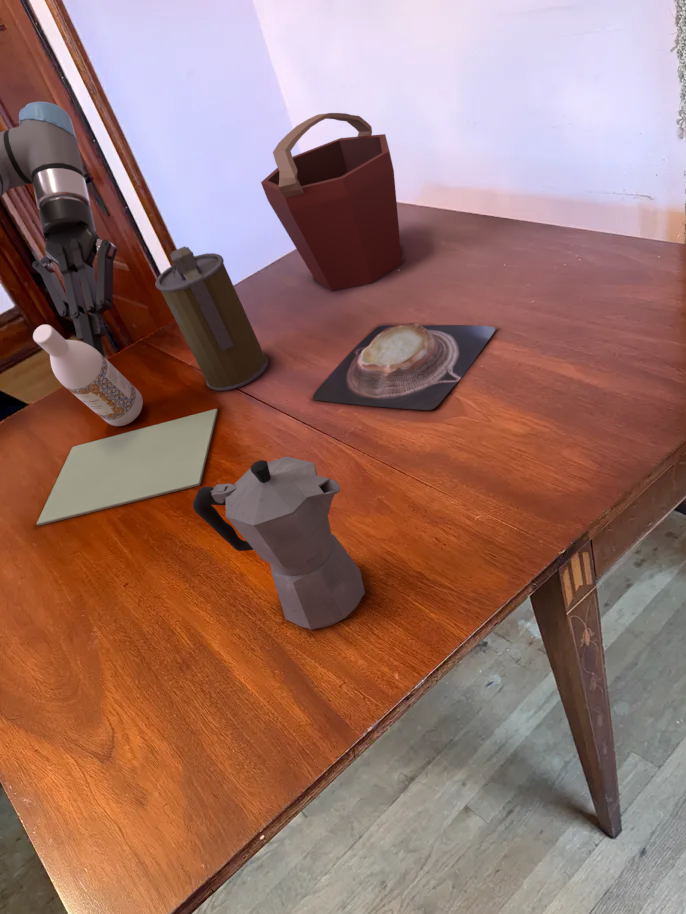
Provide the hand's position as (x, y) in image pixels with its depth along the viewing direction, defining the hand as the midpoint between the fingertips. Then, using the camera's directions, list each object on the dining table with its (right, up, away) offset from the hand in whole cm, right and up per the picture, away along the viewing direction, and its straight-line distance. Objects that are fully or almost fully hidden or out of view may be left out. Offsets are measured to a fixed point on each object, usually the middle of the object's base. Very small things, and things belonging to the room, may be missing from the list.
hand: (96, 359), depth 112 cm
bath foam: (+2, -6, +6) cm, 9 cm away
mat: (+7, -16, -5) cm, 19 cm away
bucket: (+38, +23, +25) cm, 51 cm away
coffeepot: (+37, -33, -34) cm, 60 cm away
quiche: (+46, -2, -4) cm, 47 cm away
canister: (+20, -1, +7) cm, 21 cm away
